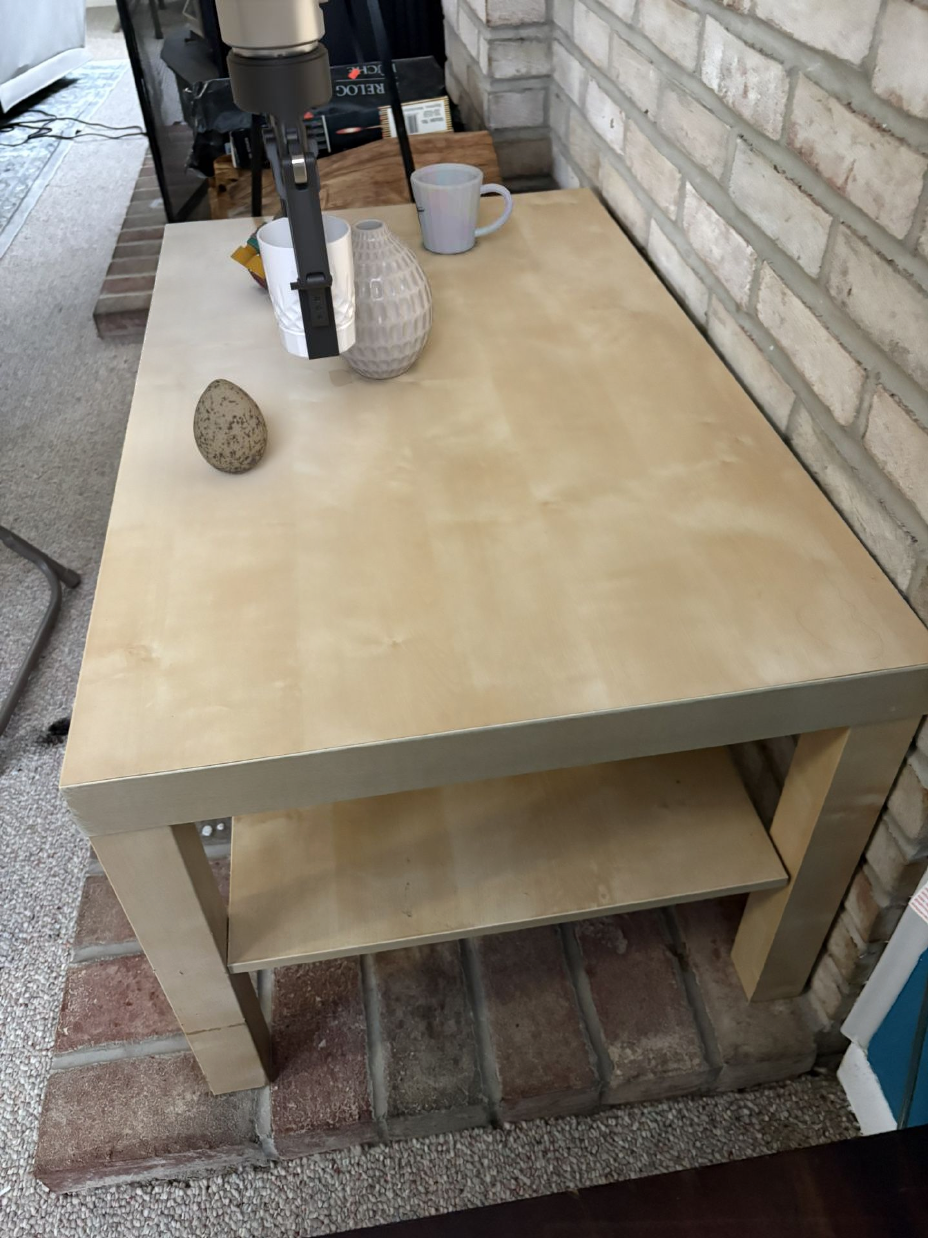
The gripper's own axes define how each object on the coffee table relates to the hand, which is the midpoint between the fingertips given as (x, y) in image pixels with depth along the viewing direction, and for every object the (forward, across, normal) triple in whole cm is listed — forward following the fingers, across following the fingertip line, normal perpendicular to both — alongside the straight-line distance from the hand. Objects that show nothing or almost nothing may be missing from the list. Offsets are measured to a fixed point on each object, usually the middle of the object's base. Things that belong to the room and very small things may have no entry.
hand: (318, 334), depth 84 cm
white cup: (+1, 0, 0) cm, 1 cm away
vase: (+15, +21, -8) cm, 27 cm away
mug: (+15, +55, -26) cm, 63 cm away
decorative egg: (+15, +4, +10) cm, 18 cm away
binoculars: (+15, +47, +2) cm, 49 cm away
